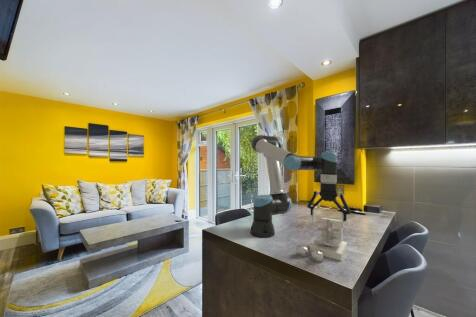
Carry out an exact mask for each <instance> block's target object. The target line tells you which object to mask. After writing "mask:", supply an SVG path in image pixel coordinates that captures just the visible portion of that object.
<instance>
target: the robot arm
mask: <svg viewBox="0 0 476 317" xmlns="http://www.w3.org/2000/svg"><path fill="white" fill-rule="evenodd" d="M250 145H251V148H252V150H253V151H254V152H257V153H258V154H262V155H263V157H264V158H265V160H266V166H267V174H268V182H269V188H270V192H269V193H268V194H260V195H256V196H255V197H253V198H254V199H253V211H252V212H253V215H252V216H253V221H252V224H251V227H250V234H251V235H252V236H254V237H258V238H271V237H274V236H275V235H276V234H275V233H276V232H275V231H276V230H275V226H274V223H273V216H276V215H277V216H278V215H284V214H288V213H289V212H290V211H291V209H292V205H293V202H292V199H291V197H290V196H288V194H287V191H285V190H284V184H283V178H282V172H281V166H280V165H281V164H282V165H284V167H285V169H286V170H289V171H318V172H319V171H320V184H319V186H320V189H319V190H320V191H318V190H315V191H313V195H312V197H311V199H310V201H309V202H308V204H307V206H306V208H308V209H310V216H312V223H313V224H314V223H315V222H316V207H317V206H318V205H319V204H321V202H322V201H324V202H330V203H334V204H335V206H337V208H338V210H340V212H341V213H342V214H341V219H340V220H341V228H343V229H344V228H345V222H346V221H347V220H348V219H347V218H348V217H347V215H351V213H352V211H351V209H350V207H349V206H348V203H347V200H346V199H345V197H344V196H345V195H344V193H338V191H337V190H338V188H337V187H338V184H337V183H338V182H337V181H338V155H337V153H336V152H321V154H320V156H309V155H308V156H307V155H297V154H294V153H292V152H290V151H288V150H285V149H284V148H283V143H282V139H280V138H279V137H277V136H274V135H265V134H259V135H256V136H254V137H253V138H252V140H251V144H250ZM318 195H320V198H319V199H318V200H317V201H316V202H315V203H314V201H315V200H316V198H317V196H318ZM337 197H338V198H339V199H340V201H341V203H342V204H340V202H339V201H338V199H337ZM312 204H313V205H312ZM342 205H343V206H342Z"/></svg>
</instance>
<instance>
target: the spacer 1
mask: <svg viewBox="0 0 476 317" xmlns="http://www.w3.org/2000/svg"><path fill="white" fill-rule="evenodd" d="M296 248H297V249H296V253H297V254H296V255H297V256H298V257H299V256H300V258H308V257H309V246H307V245H306V244H298V245H297V247H296Z"/></svg>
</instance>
